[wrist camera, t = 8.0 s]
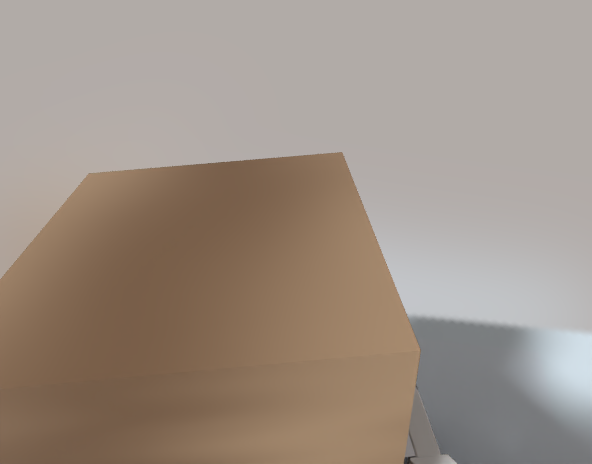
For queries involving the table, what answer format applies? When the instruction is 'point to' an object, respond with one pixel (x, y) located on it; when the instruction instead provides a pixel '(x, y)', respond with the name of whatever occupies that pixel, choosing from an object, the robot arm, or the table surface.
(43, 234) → the walnut block
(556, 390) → the table surface
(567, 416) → the table surface
